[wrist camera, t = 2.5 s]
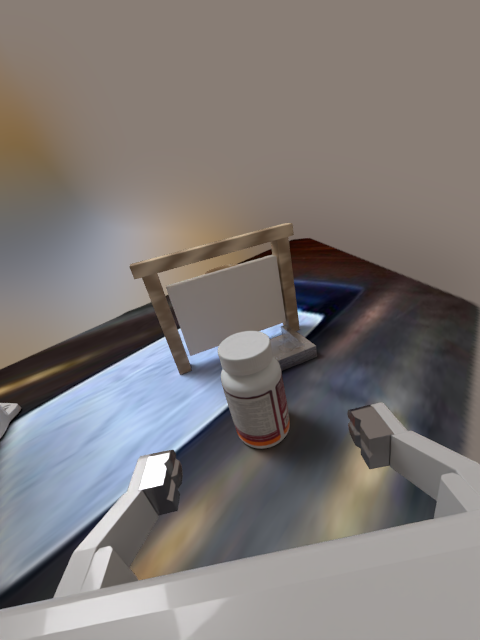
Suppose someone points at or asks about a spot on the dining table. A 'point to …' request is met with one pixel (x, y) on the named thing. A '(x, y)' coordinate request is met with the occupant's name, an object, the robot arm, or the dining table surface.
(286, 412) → the pill bottle
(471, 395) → the dining table surface
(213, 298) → the door
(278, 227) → the door frame
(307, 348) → the keeper
